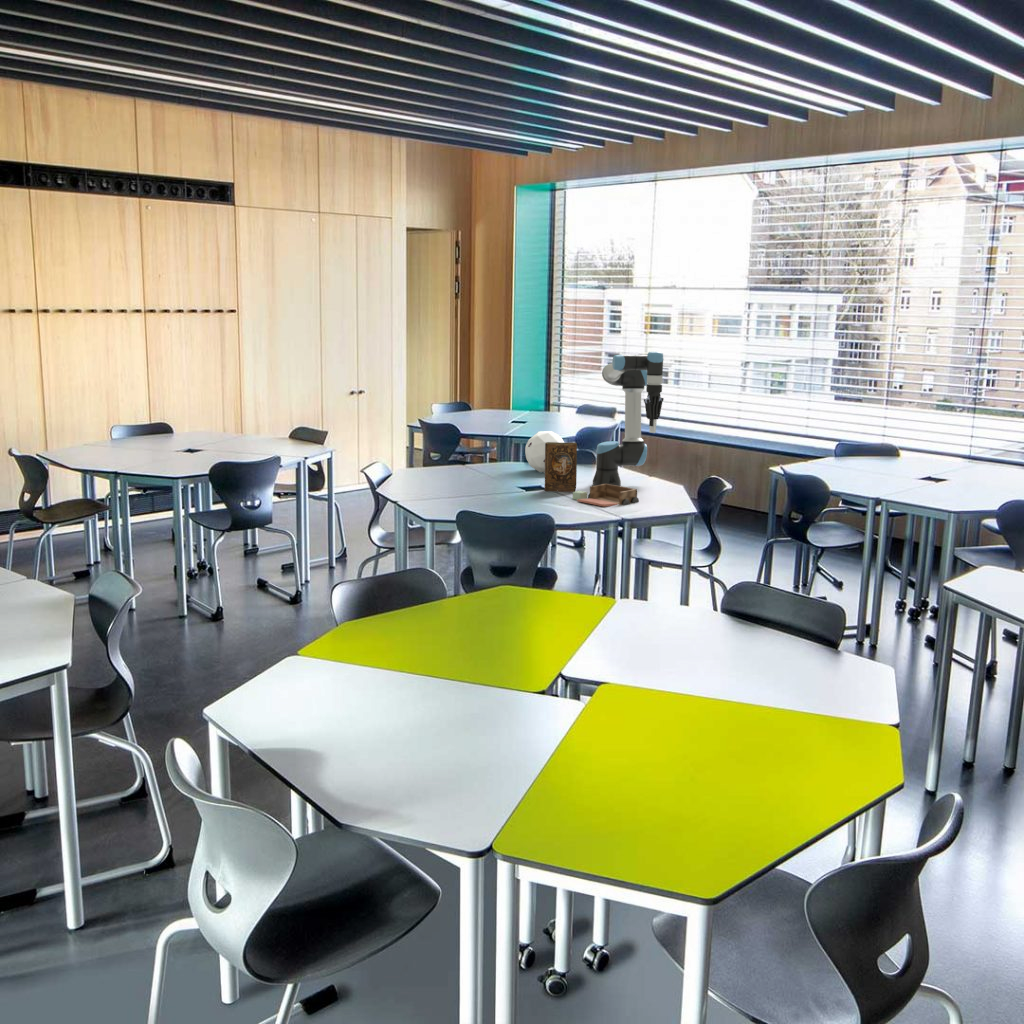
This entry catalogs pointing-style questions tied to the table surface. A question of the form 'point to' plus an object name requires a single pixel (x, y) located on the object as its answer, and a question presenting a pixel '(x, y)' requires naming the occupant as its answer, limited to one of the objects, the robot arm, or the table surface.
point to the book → (560, 467)
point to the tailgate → (597, 502)
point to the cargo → (579, 495)
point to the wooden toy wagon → (614, 494)
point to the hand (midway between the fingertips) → (652, 432)
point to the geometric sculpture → (539, 448)
